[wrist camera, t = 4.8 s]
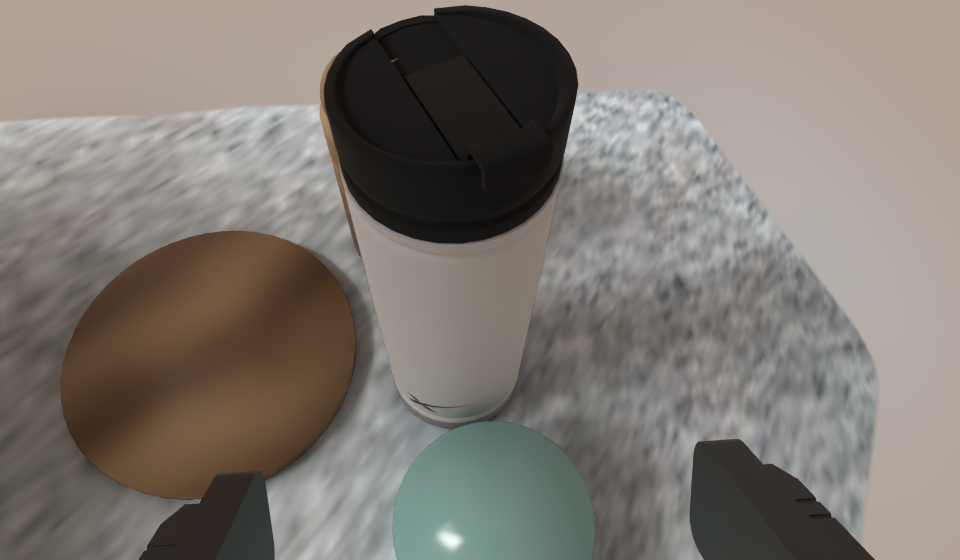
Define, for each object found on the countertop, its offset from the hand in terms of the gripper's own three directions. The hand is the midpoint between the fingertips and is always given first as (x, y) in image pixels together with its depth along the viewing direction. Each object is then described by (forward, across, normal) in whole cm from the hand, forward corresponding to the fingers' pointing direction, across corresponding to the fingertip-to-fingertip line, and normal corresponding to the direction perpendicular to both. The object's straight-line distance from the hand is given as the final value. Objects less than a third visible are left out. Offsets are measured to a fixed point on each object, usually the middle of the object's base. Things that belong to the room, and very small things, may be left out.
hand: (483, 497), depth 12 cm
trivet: (+21, +12, +5) cm, 25 cm away
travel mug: (+20, 0, +6) cm, 21 cm away
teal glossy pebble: (+14, -1, +12) cm, 18 cm away
